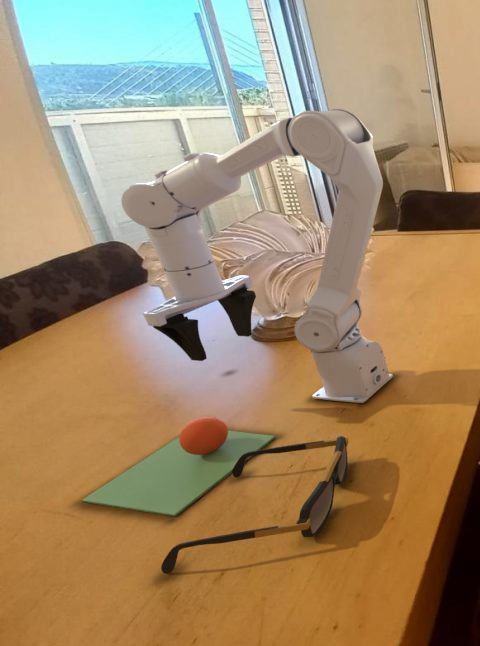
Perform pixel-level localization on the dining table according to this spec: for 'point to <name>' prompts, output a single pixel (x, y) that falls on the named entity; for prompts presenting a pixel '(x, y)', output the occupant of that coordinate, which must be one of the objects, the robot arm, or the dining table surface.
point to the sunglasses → (311, 512)
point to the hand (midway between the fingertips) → (223, 346)
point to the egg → (203, 435)
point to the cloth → (175, 476)
